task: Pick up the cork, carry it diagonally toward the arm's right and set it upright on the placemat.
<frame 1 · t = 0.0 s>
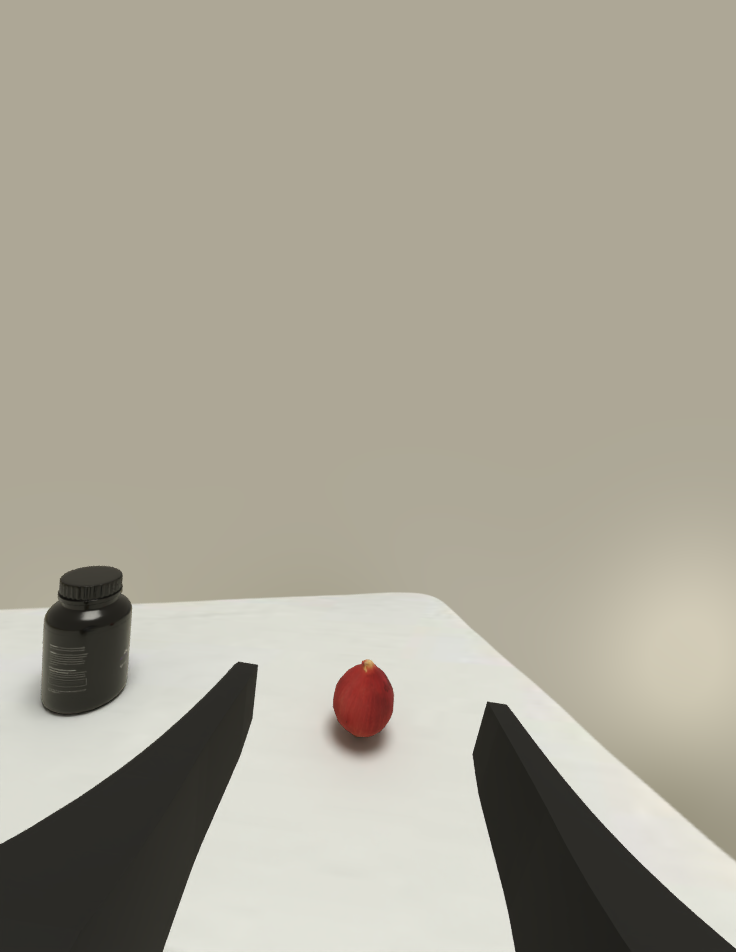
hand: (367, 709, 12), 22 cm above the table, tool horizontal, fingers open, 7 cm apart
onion: (357, 735, 38), on the table
supplement bottle: (86, 691, 38), on the table
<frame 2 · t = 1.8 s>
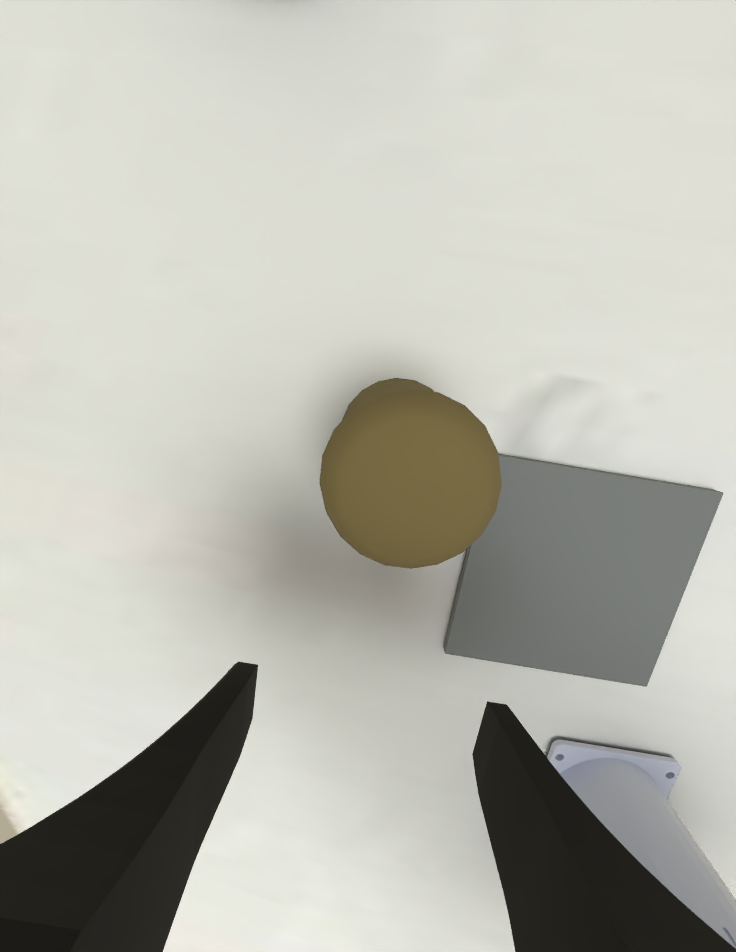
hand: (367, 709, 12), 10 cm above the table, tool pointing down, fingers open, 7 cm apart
placemat: (570, 573, 22), on the table
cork: (396, 436, 21), on the table
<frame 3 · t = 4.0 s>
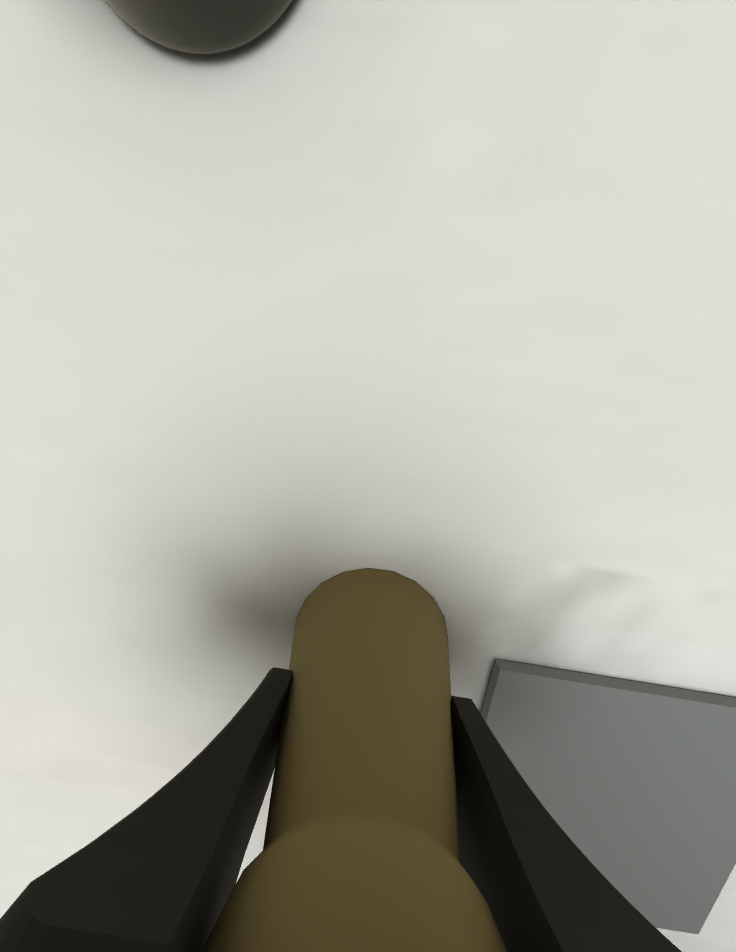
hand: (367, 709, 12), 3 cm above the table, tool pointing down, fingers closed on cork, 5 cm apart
placemat: (600, 798, 17), on the table
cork: (370, 635, 15), on the table, touching gripper
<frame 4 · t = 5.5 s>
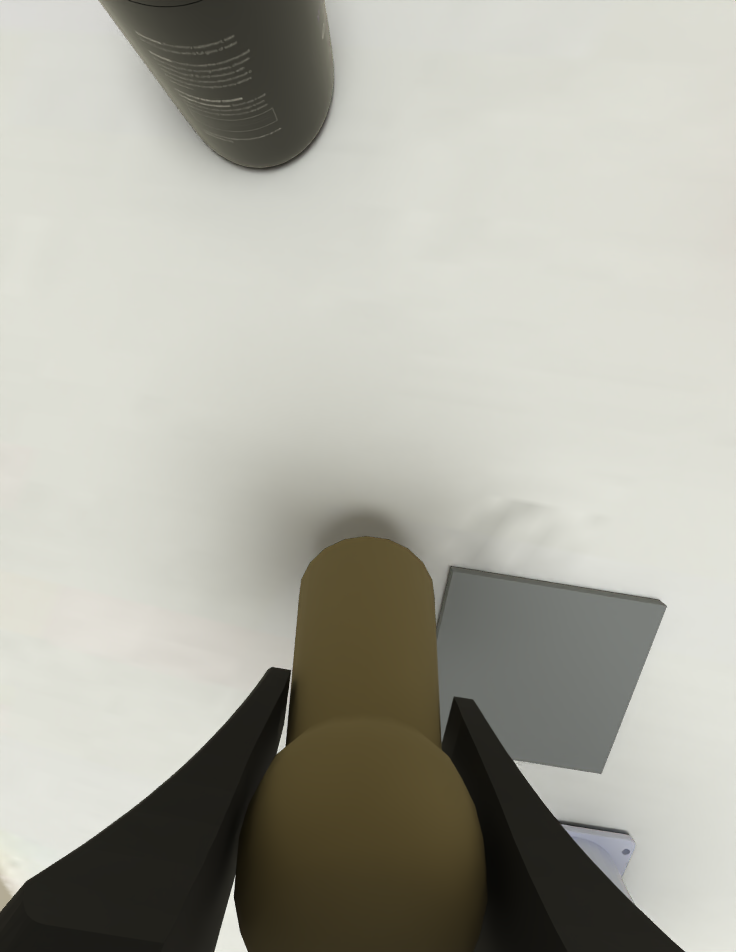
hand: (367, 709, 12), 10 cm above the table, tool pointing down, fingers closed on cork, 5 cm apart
placemat: (528, 671, 23), on the table
supplement bottle: (259, 86, 17), on the table
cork: (366, 595, 17), point 5 cm above the table, touching gripper
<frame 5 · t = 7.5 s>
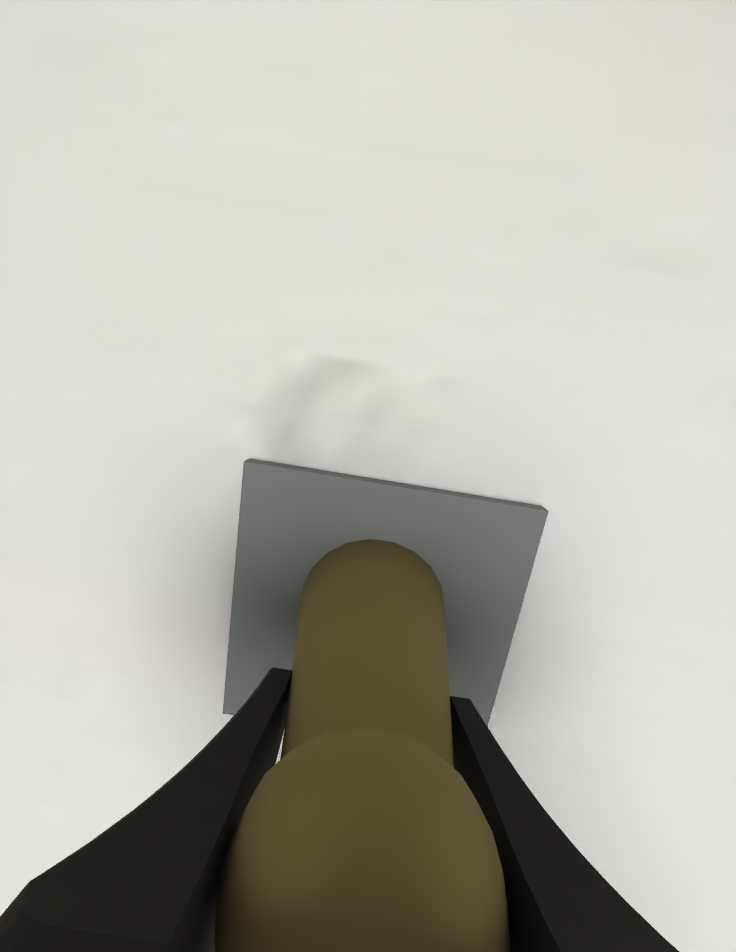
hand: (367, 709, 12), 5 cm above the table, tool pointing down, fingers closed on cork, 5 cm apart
placemat: (372, 612, 17), on the table
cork: (372, 603, 16), resting on placemat, touching gripper
when the fingers open (5 cm above the table, at t = 7.9 s): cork stays where it is, resting on placemat.
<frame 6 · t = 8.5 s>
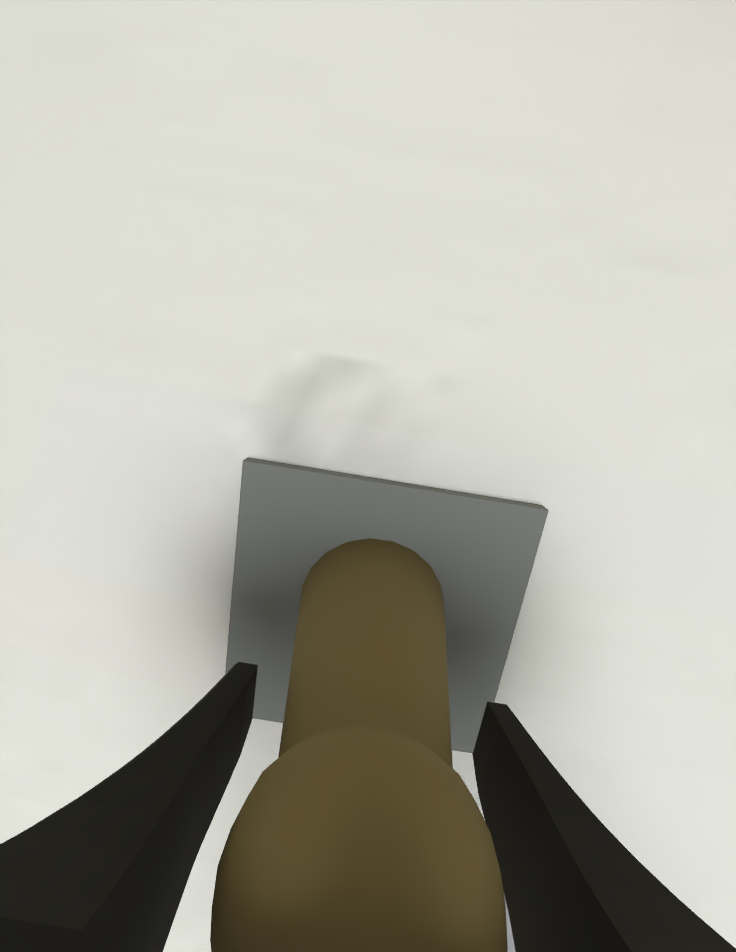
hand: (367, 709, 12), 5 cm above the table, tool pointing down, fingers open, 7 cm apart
placemat: (371, 612, 17), on the table
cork: (371, 602, 16), resting on placemat
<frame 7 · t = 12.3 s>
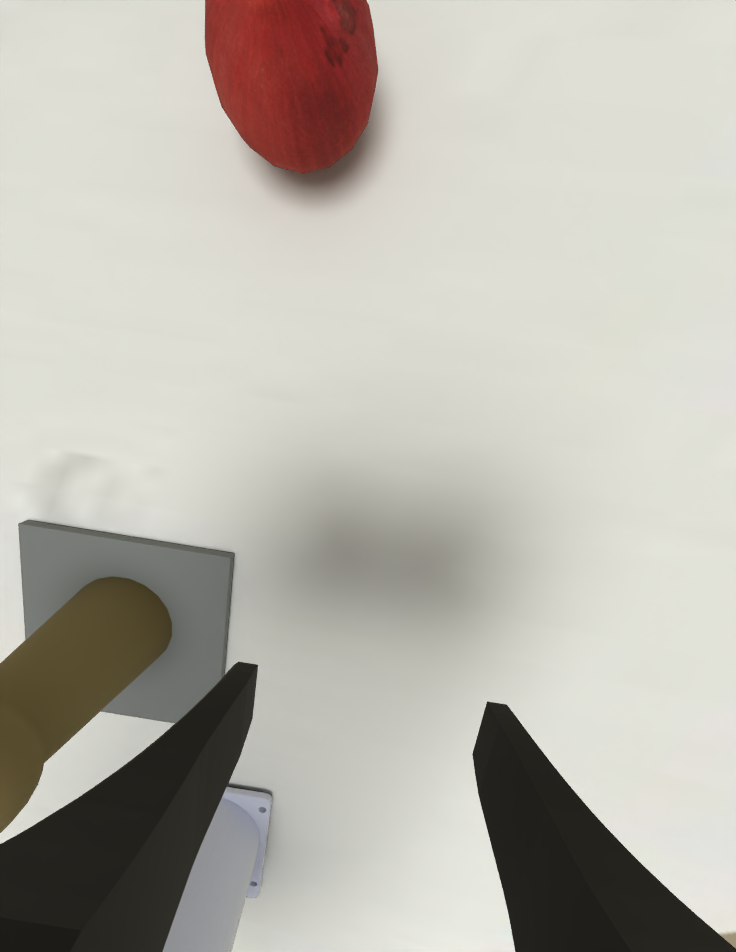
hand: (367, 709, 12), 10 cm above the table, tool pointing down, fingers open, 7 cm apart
placemat: (130, 627, 24), on the table
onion: (314, 135, 17), on the table
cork: (124, 620, 23), resting on placemat
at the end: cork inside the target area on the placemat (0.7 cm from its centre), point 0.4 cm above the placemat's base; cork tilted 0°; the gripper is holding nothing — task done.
